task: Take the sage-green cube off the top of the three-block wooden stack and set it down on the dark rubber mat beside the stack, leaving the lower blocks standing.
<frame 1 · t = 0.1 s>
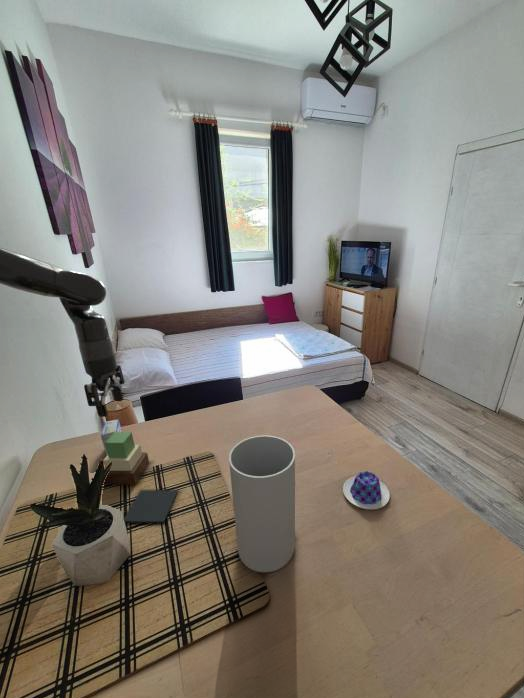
hand: (111, 408, 91), 19 cm above the table, tool pointing down, fingers open, 8 cm apart
pudding: (365, 494, 86), on the table
cylinder vase: (266, 547, 72), on the table
cream block: (124, 462, 92), point 4 cm above the table, touching green cube, walnut block
green cube: (122, 452, 91), point 7 cm above the table, touching cream block
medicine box: (116, 450, 104), on the table
walnut block: (127, 473, 93), on the table, touching cream block
rubber mat: (151, 506, 82), on the table
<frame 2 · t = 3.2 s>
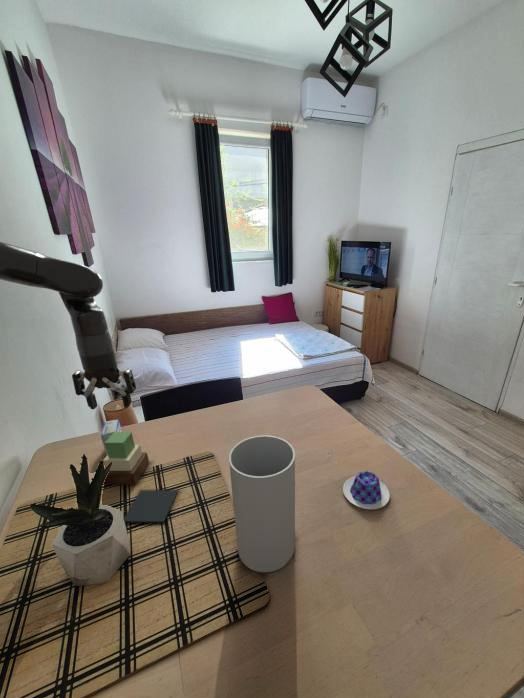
hand: (110, 407, 86), 21 cm above the table, tool pointing down, fingers open, 8 cm apart
nothing on the table moved.
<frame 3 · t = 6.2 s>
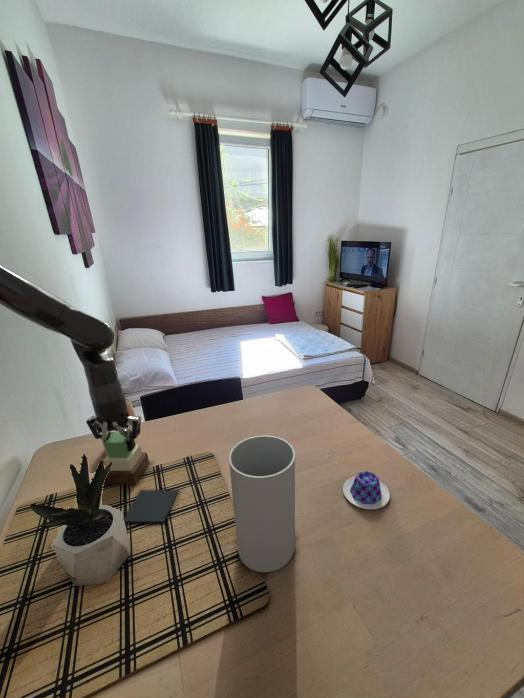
hand: (121, 449, 90), 8 cm above the table, tool pointing down, fingers closed on green cube, 5 cm apart
green cube: (122, 452, 91), point 7 cm above the table, touching cream block, gripper
everything else where it was.
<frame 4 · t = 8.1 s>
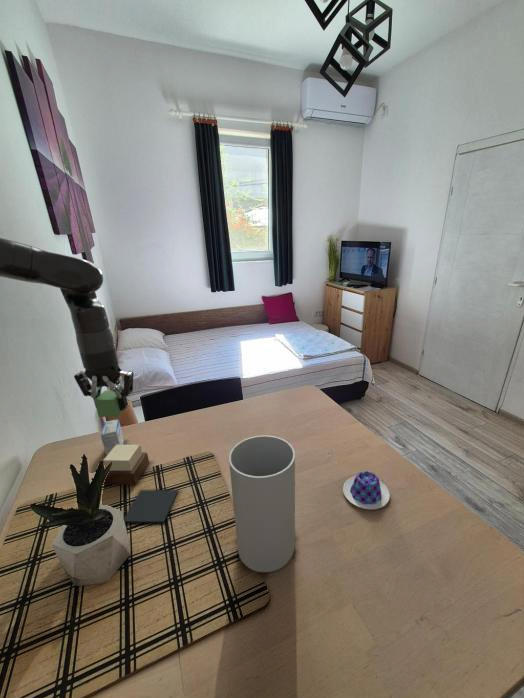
hand: (112, 408, 84), 22 cm above the table, tool pointing down, fingers closed on green cube, 5 cm apart
cream block: (124, 462, 92), point 4 cm above the table, touching walnut block
green cube: (113, 412, 84), point 21 cm above the table, touching gripper
everything else where it was.
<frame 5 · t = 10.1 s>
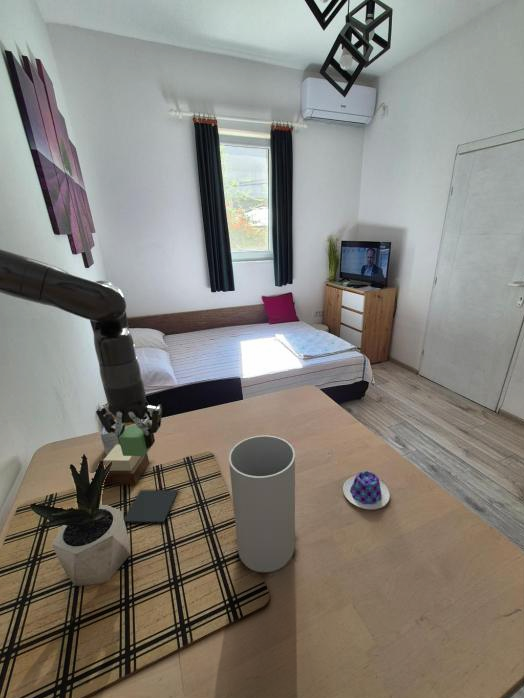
hand: (137, 445, 75), 19 cm above the table, tool pointing down, fingers closed on green cube, 5 cm apart
green cube: (138, 449, 75), point 18 cm above the table, touching gripper
everything else where it was.
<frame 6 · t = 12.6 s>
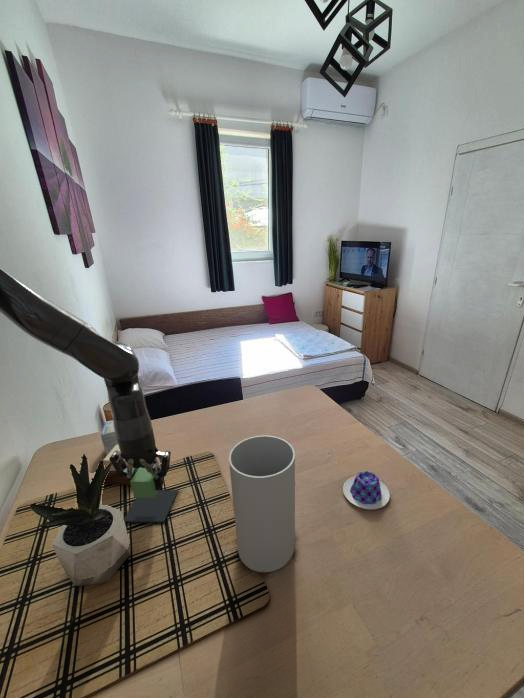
hand: (147, 487, 80), 6 cm above the table, tool pointing down, fingers closed on green cube, 5 cm apart
green cube: (148, 490, 80), point 5 cm above the table, touching gripper
everything else where it was.
when the fingers open (1 cm above the table, at t = 14.3 s): green cube stays where it is, resting on rubber mat.
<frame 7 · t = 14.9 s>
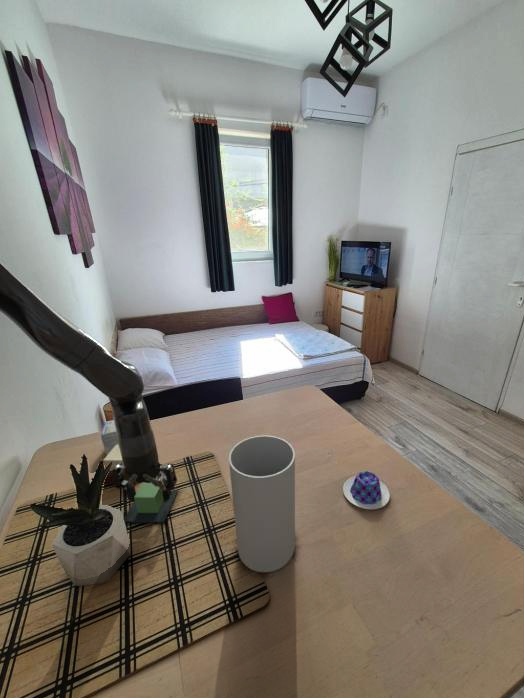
hand: (150, 499, 81), 2 cm above the table, tool pointing down, fingers open, 8 cm apart
green cube: (152, 505, 82), resting on rubber mat
everything else where it was.
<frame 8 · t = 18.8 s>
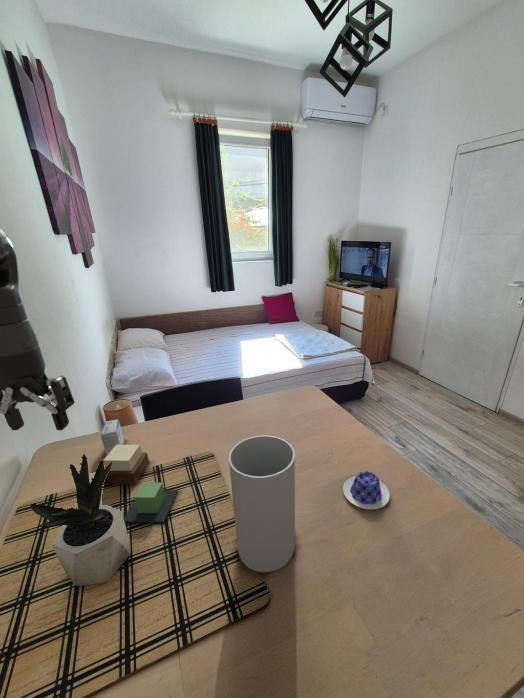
hand: (40, 428, 61), 30 cm above the table, tool pointing down, fingers open, 8 cm apart
nothing on the table moved.
at the end: green cube inside the target area on the rubber mat (0.1 cm from its centre), point 0.5 cm above the rubber mat's base; green cube touching rubber mat; cream block moved 0.0 cm from its start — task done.
